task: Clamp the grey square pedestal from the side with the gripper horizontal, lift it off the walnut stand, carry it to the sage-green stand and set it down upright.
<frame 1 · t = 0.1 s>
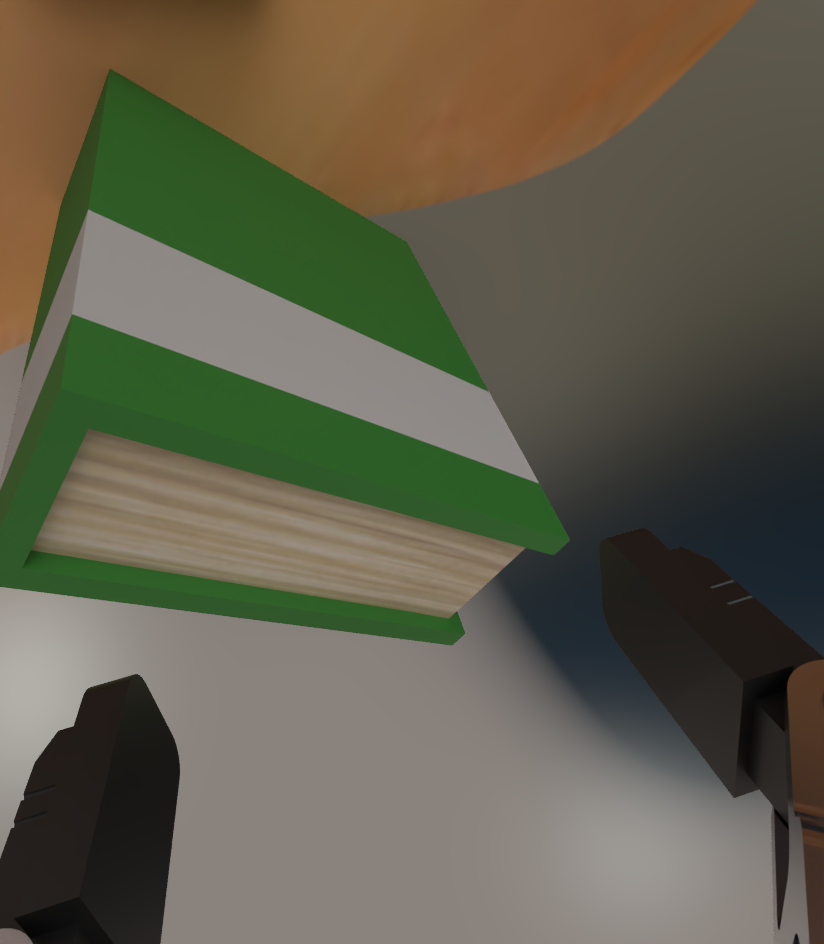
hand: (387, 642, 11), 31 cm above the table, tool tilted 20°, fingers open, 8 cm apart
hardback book: (248, 224, 37), on the table
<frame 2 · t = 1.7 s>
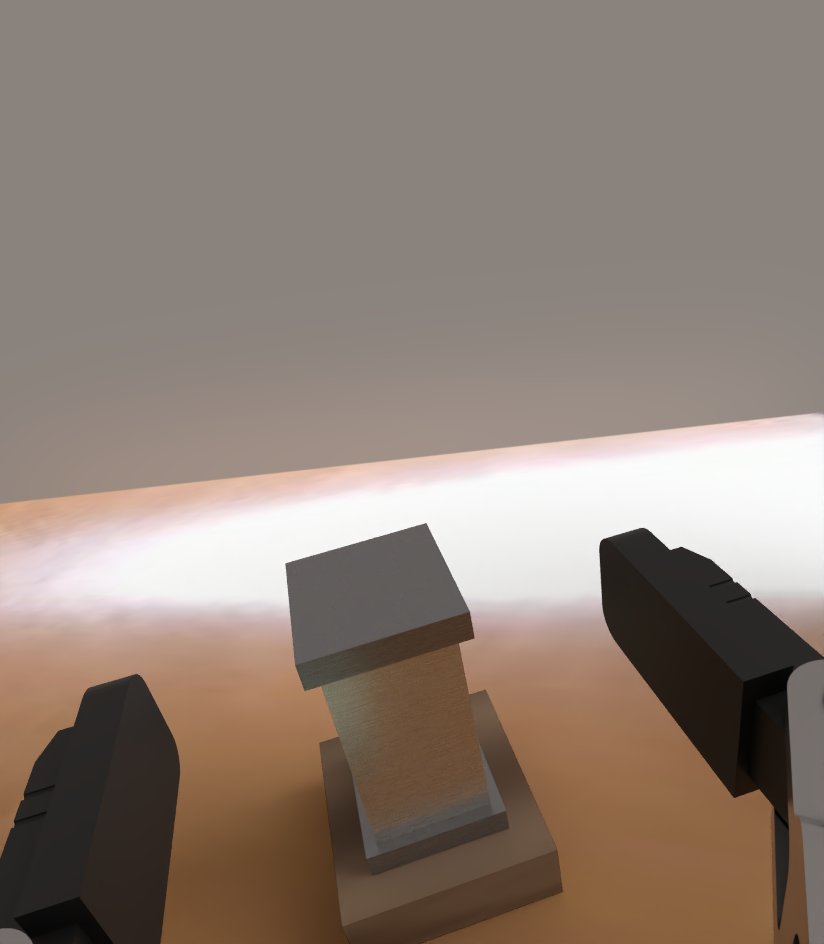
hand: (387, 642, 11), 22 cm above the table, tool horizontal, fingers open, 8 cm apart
walnut stand: (435, 829, 31), on the table
grey square pedestal: (424, 790, 30), point 3 cm above the table, touching walnut stand
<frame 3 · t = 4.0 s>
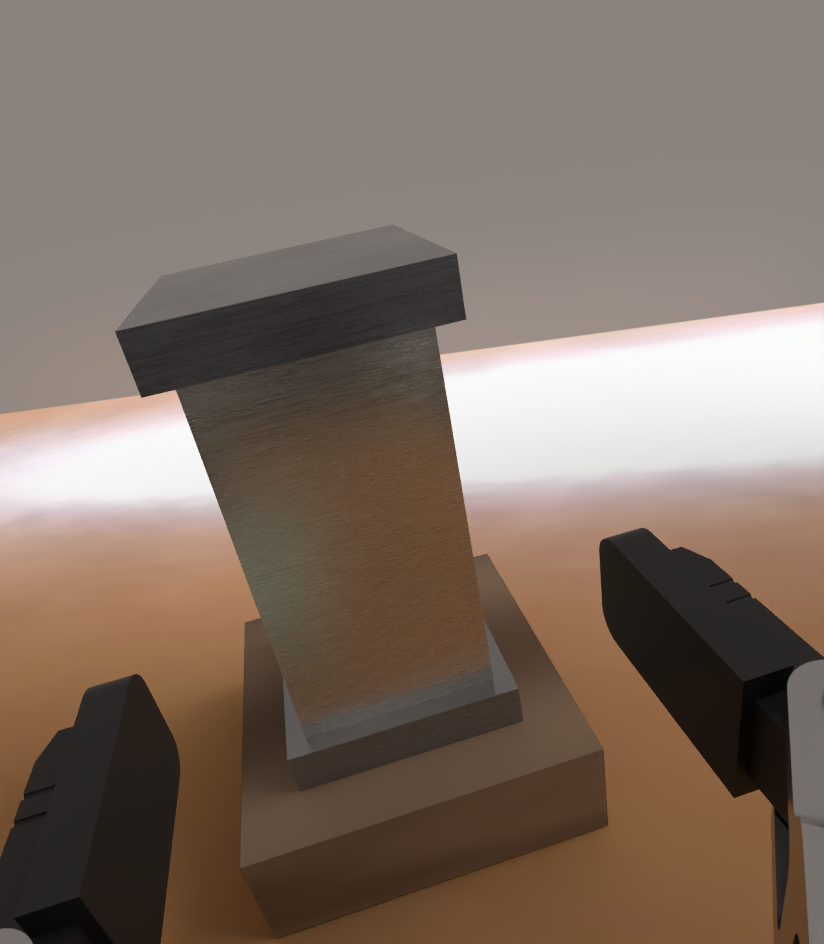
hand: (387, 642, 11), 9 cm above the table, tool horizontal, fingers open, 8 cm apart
walnut stand: (410, 742, 21), on the table
grey square pedestal: (392, 674, 19), point 3 cm above the table, touching walnut stand
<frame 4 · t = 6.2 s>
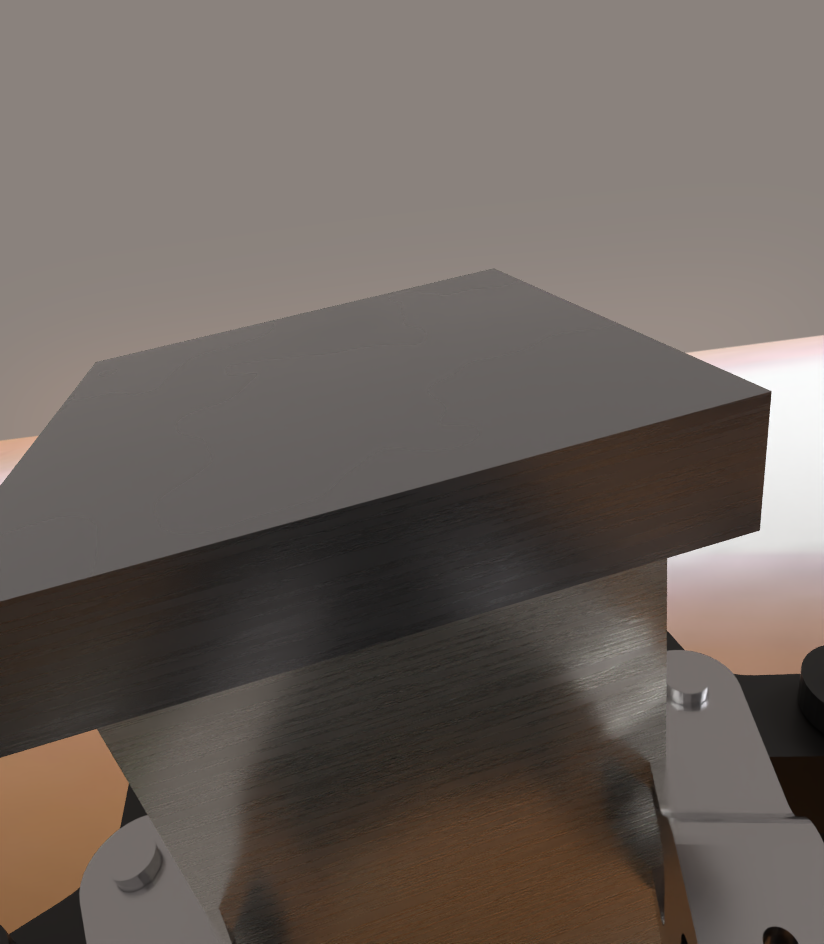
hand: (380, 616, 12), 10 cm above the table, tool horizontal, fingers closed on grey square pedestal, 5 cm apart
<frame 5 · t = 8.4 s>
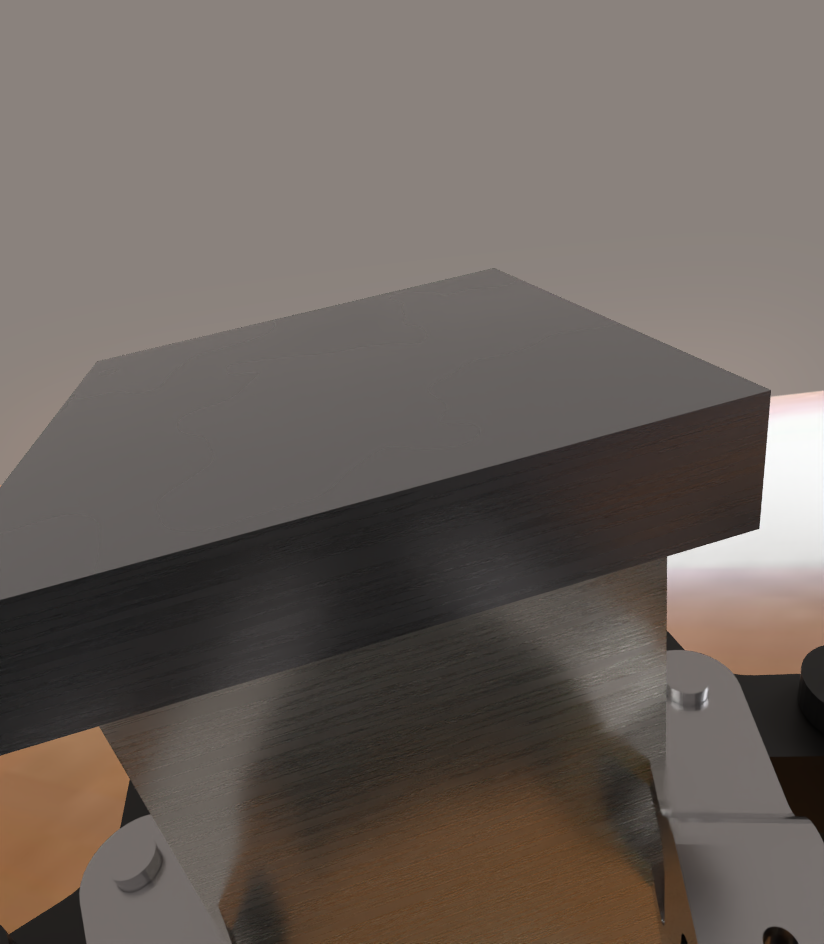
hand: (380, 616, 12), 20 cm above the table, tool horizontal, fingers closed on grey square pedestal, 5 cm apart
when the fingers open (10 cm above the table, at t = 11.0 s): grey square pedestal stays where it is, resting on green stand.
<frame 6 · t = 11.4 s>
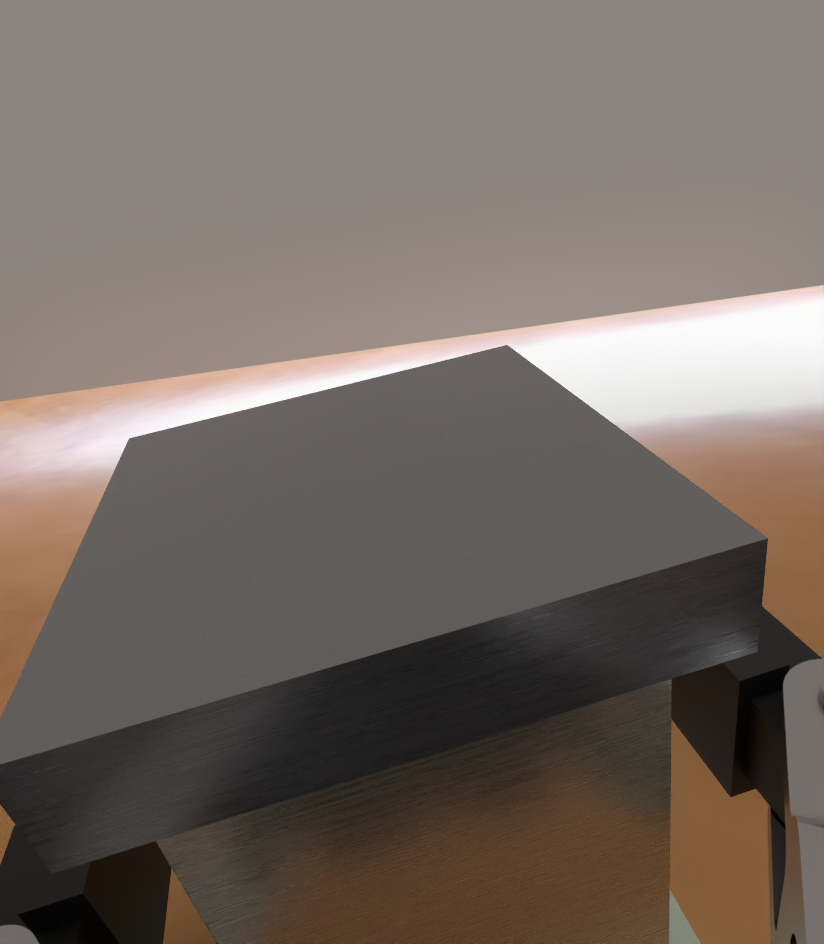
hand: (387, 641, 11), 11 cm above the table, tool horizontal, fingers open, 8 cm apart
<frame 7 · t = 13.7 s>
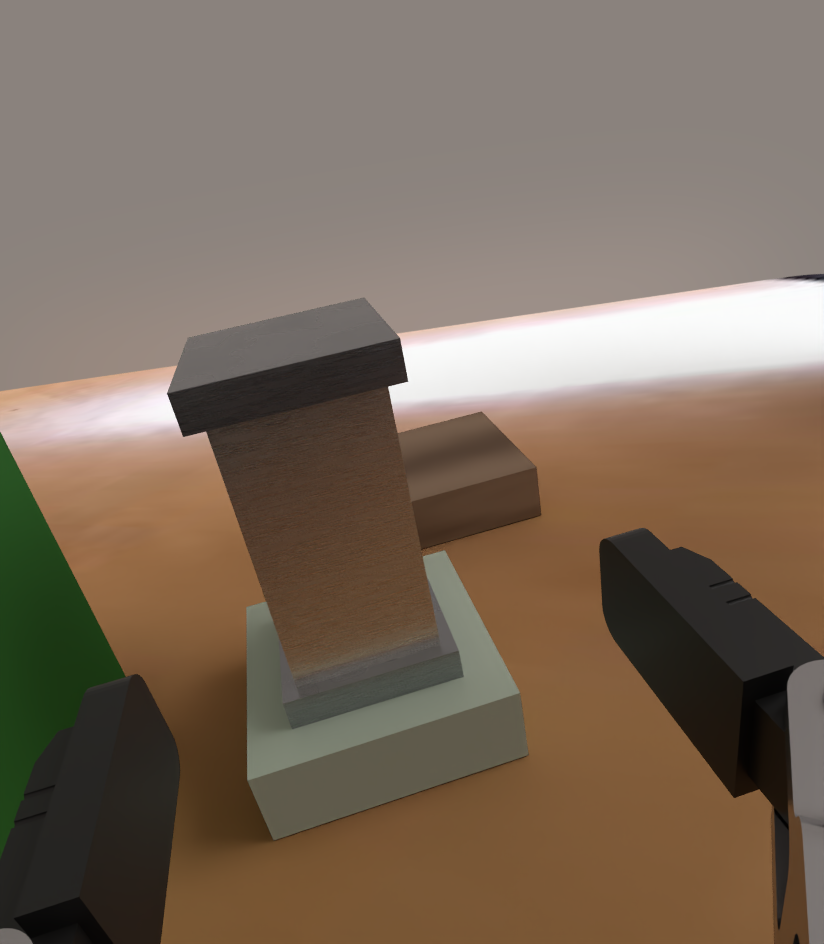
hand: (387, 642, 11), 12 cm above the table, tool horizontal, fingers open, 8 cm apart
walnut stand: (441, 499, 39), on the table
grey square pedestal: (365, 644, 24), point 3 cm above the table, touching green stand
green stand: (379, 700, 26), on the table
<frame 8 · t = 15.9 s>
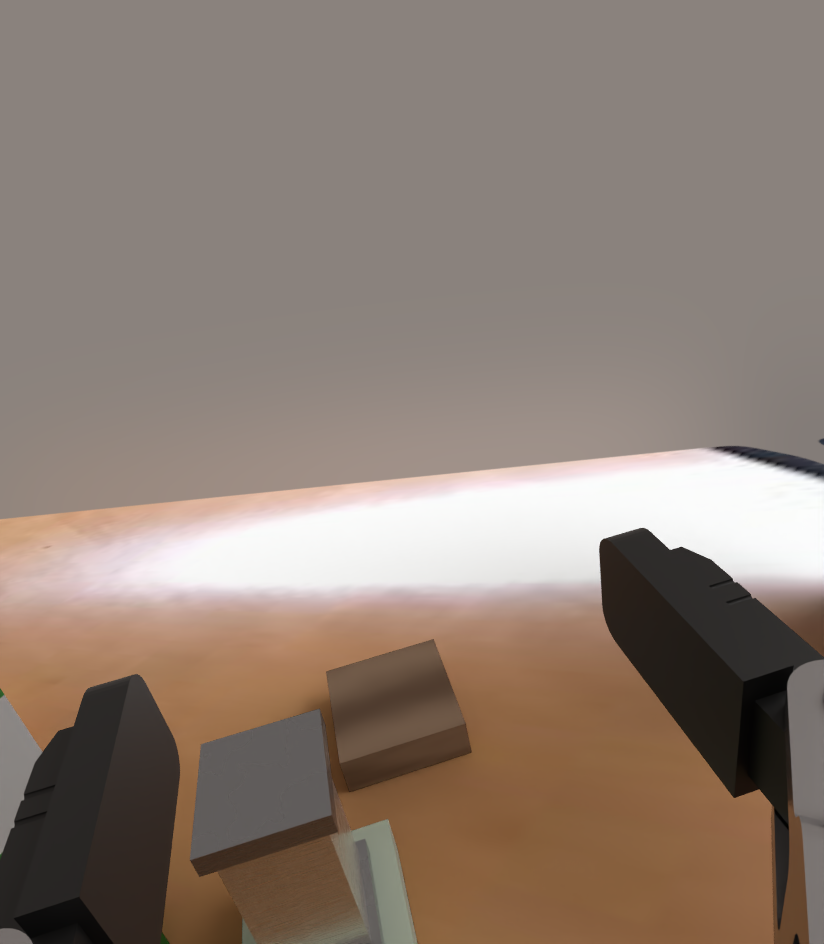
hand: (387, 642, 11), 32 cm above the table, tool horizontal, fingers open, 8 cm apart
walnut stand: (398, 723, 50), on the table
grey square pedestal: (324, 920, 35), point 3 cm above the table, touching green stand
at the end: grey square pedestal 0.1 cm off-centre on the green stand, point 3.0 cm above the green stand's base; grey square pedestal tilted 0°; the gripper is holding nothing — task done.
